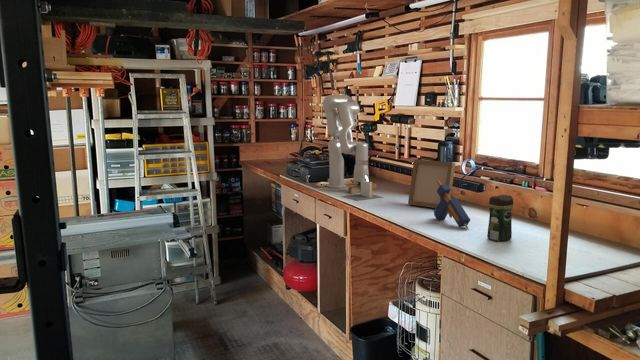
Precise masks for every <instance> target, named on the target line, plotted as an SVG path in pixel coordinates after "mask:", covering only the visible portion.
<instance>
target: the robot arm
mask: <svg viewBox="0 0 640 360" xmlns="http://www.w3.org/2000/svg"><path fill="white" fill-rule="evenodd" d="M322 107H323V112H324V114H325V115H324V116H325V118H326V119H325V120H326V126H327V132H328V133H327V134H328V135H329V136H330V137H331V138H332V137H333V139H330V140H329V141H328V143H327V147H328V148H327V149H328V156H329V162H328V163H329V170H328V171H329V173H328V174H329V179H327V182H328V183H327V184H326V186H327V187H328V188H333V189H343V188H346V187H347V184H345V180H344V179H345V160H344V157H343V155H342V154H344V155H352V154H353V155H354V154H355V164H354V168H353V180H354V182H355V184H356V185H361V180H365V181H369V178H370V176H369V175H370V172H369V143H366V142H361V141H354V137H353V131H352V129H353V128H355V126H356V121H355V116H357V115H359V113H360V111H361V110H360V108H361V107H360V105H359V103H358V101H356V100H355V99H353V98H352V97H351V96H350V95H348V94H328V95H326V96H325V97H324V99H323V101H322ZM336 109H337V110H336ZM335 137H336V138H335ZM356 185H355V186H356Z"/></svg>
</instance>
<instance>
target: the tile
mask: <svg viewBox="0 0 640 360" xmlns="http://www.w3.org/2000/svg"><path fill="white" fill-rule="evenodd" d="M372 183H373V182H372V181H369V180H368V181H365V180H361V193H360V194H361V195H362V196H365V197H369V198H372V194H373V191H372Z"/></svg>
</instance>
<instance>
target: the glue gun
mask: <svg viewBox="0 0 640 360" xmlns="http://www.w3.org/2000/svg"><path fill="white" fill-rule="evenodd" d="M436 182H437V183H438V185H439V188H438V190H437V193H438V194H439V196H440V199H441V200H440V203H439V204H438V206H437V207H436V208H434V210H433V216H434V217H435V219H436V220H437V221H441V220H445V219H446V218H447V216H448V217H449V218H450V219H452V218H453V220H454V221H455V223H456V224H457V226H458V228H460V227H461V228H462V227H465V228H466V229H467V230H468V231H469V230H470V229H469V226H468V225H469V224H470V222H471V218H470V217H469V215H468V214H467V212H466V210H465V209H464V208H463V206H462V205H461V203H460V202H459V200H458V198H453V199H452V197H451V198H450V197H449V195H448V194H449V192H450V190H451V189H450V188H449V186H448V185H442V184H441V183H440V181H439V180H437V181H436Z"/></svg>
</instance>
